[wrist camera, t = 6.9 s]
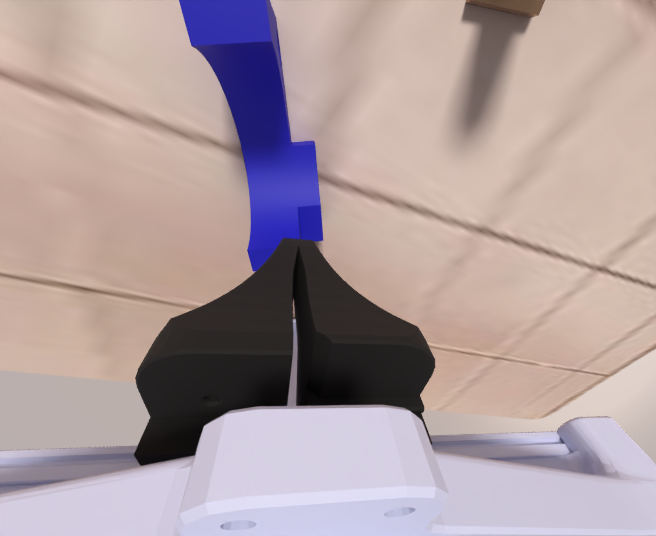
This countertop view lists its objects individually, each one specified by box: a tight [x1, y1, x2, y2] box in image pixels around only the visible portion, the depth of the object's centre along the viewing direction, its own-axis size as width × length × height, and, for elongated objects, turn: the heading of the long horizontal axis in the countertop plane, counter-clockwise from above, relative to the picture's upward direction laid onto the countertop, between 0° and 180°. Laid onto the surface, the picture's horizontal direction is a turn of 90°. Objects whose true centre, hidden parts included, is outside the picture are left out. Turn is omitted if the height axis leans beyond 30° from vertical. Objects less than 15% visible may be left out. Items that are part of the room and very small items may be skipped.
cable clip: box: [179, 0, 323, 271], centre depth 15 cm, size 12×4×6 cm, turn 3°
